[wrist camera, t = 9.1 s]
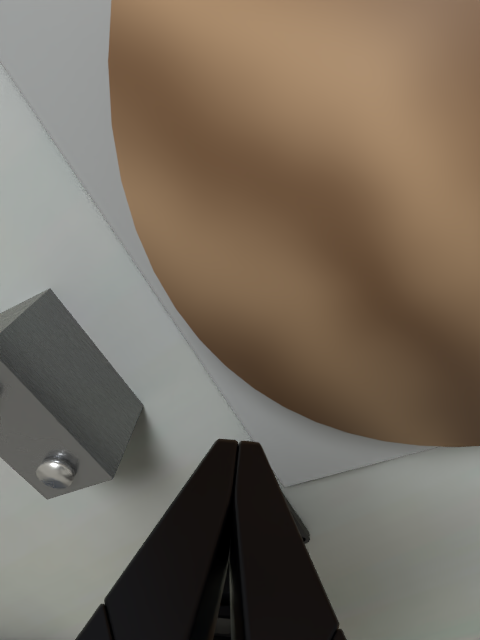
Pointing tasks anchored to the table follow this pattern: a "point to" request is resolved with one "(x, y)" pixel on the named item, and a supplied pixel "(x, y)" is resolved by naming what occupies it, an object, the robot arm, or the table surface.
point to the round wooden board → (314, 198)
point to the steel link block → (59, 400)
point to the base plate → (108, 194)
